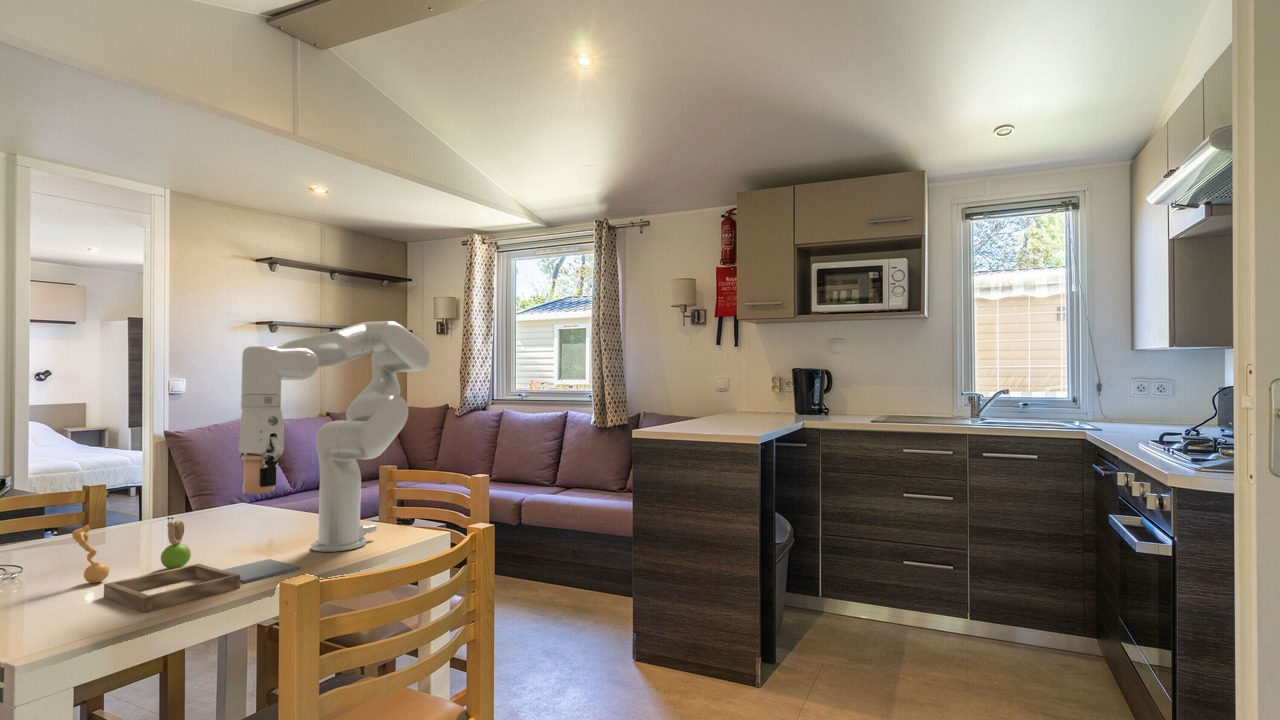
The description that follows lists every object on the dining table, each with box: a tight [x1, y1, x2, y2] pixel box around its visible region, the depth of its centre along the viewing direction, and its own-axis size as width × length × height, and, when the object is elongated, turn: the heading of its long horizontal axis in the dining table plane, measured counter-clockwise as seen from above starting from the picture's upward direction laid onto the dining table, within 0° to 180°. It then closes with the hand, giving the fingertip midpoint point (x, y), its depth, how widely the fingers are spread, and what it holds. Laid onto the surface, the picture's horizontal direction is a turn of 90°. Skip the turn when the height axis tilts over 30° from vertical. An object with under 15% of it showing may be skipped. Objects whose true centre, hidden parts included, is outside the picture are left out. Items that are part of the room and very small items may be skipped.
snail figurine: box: [160, 516, 192, 570], centre depth 141 cm, size 5×6×12 cm
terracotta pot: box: [240, 454, 276, 495], centre depth 139 cm, size 7×7×8 cm
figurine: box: [71, 524, 110, 584], centre depth 130 cm, size 8×6×12 cm
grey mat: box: [222, 558, 301, 584], centre depth 139 cm, size 12×12×1 cm
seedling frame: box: [103, 563, 241, 613], centre depth 125 cm, size 16×16×2 cm
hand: (259, 484), depth 139 cm, fingers closed on terracotta pot, 6 cm apart
